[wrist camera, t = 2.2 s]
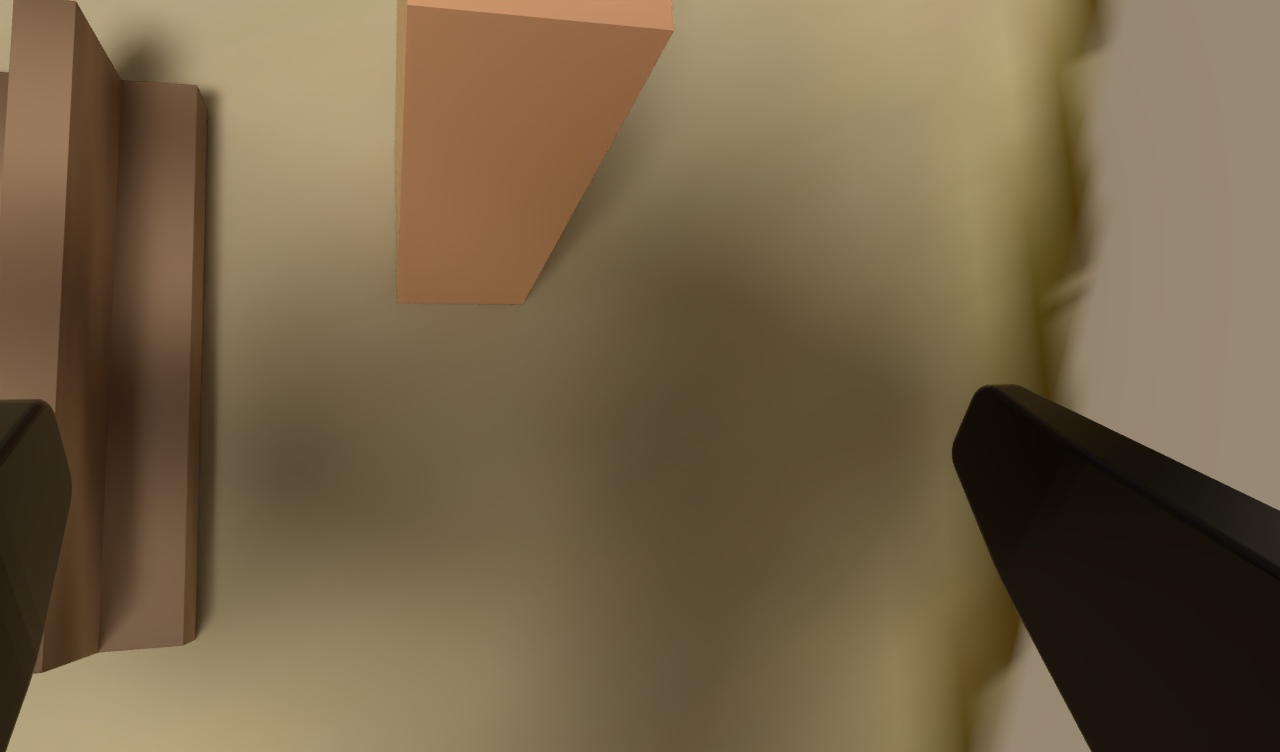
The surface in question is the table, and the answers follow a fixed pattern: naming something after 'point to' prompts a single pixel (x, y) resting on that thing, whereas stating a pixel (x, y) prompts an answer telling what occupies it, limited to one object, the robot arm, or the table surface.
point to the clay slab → (506, 132)
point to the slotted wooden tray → (106, 322)
